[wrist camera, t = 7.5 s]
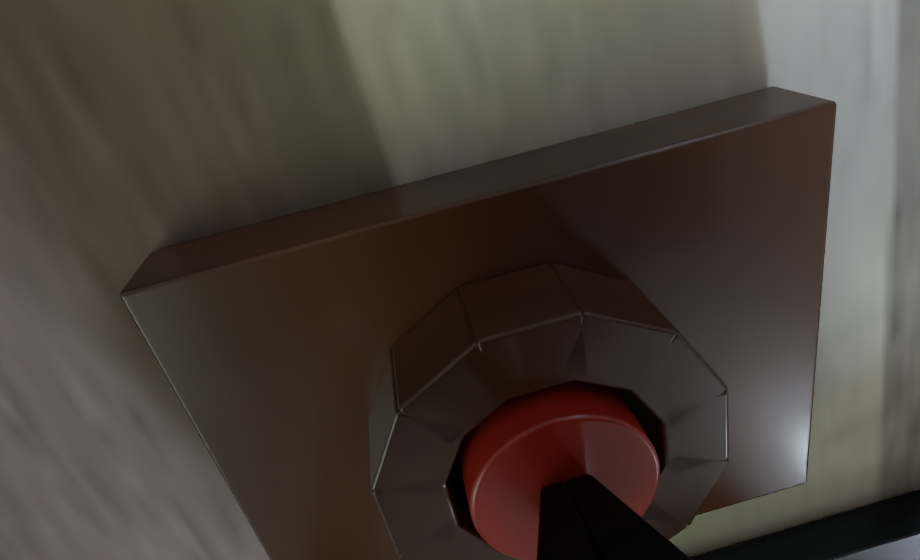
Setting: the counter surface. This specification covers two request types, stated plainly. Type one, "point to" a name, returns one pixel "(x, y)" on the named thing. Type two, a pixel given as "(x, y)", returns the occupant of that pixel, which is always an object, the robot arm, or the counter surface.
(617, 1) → the counter surface
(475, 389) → the control block
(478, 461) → the red push button
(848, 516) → the black lever housing
